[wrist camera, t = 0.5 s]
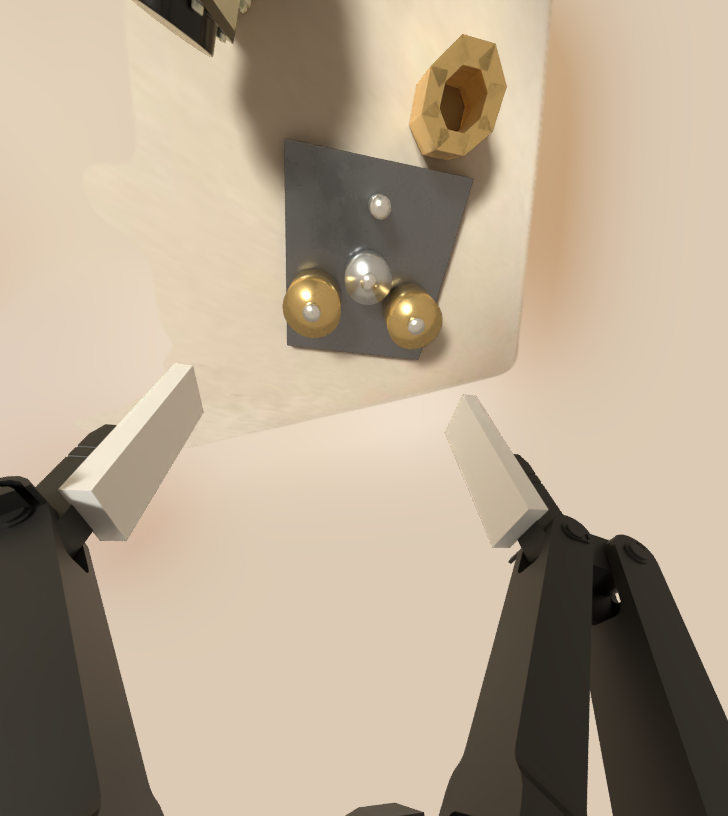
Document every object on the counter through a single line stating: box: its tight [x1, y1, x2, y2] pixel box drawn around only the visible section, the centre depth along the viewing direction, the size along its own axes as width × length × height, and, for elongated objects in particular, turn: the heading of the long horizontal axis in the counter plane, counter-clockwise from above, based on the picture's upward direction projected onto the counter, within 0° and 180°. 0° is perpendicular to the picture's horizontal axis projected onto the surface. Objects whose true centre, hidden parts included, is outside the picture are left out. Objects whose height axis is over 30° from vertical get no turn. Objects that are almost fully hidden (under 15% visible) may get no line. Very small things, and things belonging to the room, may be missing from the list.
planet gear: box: [409, 34, 507, 160], centre depth 23 cm, size 6×6×5 cm
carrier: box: [283, 138, 473, 360], centre depth 30 cm, size 20×18×7 cm
